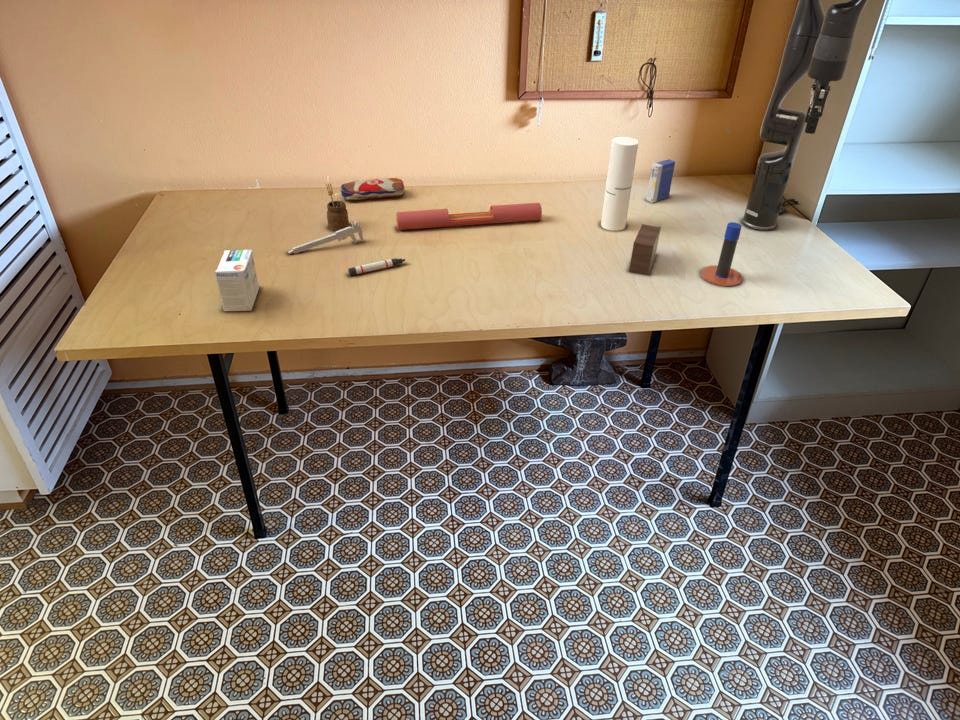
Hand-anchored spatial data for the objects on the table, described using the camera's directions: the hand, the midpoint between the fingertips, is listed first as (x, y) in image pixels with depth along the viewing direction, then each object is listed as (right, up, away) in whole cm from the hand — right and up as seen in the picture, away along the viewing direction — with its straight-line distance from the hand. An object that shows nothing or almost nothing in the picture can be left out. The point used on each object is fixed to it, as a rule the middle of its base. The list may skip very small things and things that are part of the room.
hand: (809, 127), depth 168 cm
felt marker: (-16, -28, +10) cm, 34 cm away
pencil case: (-112, -5, +51) cm, 123 cm away
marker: (-105, -32, +14) cm, 111 cm away
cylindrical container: (-40, -16, +38) cm, 57 cm away
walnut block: (-35, -30, +19) cm, 50 cm away
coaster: (-16, -34, +14) cm, 40 cm away
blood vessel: (-82, -16, +37) cm, 91 cm away
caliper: (-121, -25, +23) cm, 125 cm away
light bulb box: (-136, -41, 0) cm, 142 cm away
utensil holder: (-119, -17, +34) cm, 125 cm away
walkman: (-23, -5, +54) cm, 59 cm away
